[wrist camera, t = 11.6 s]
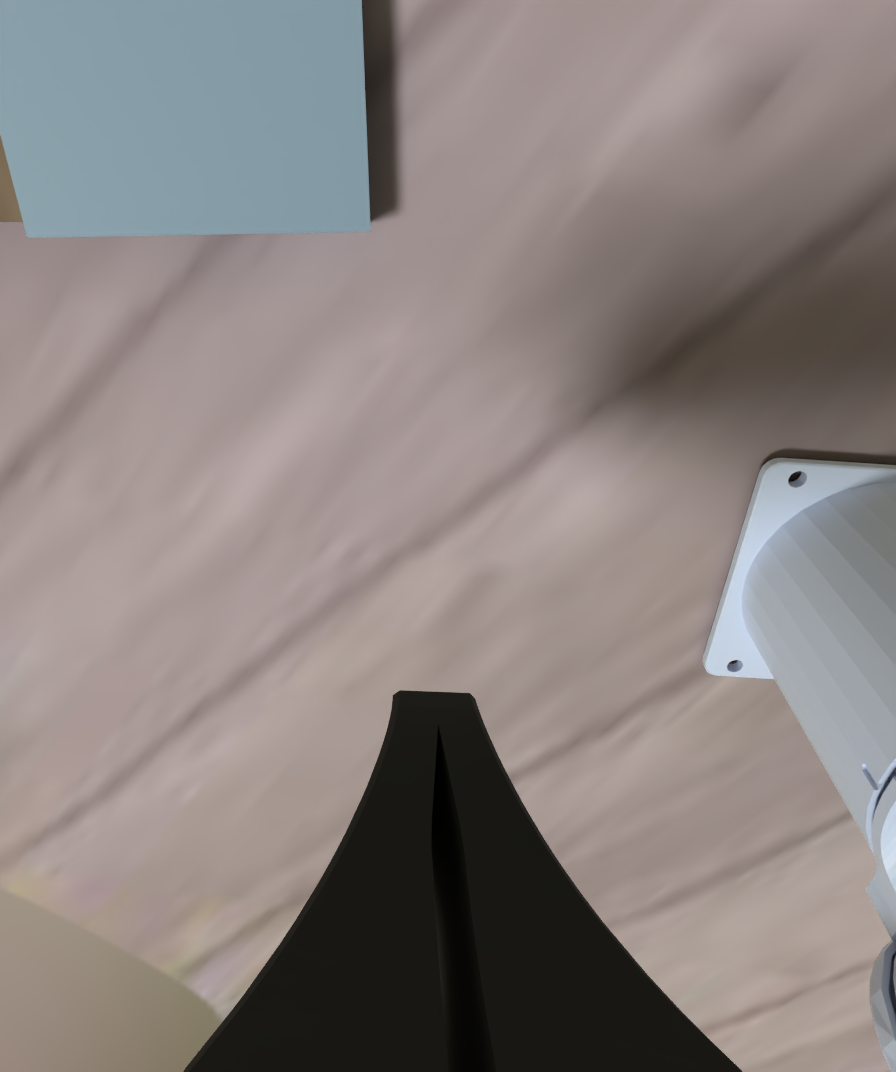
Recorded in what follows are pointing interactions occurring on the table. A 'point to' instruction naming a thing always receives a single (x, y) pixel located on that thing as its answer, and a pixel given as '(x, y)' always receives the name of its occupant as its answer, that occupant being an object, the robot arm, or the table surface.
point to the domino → (185, 116)
